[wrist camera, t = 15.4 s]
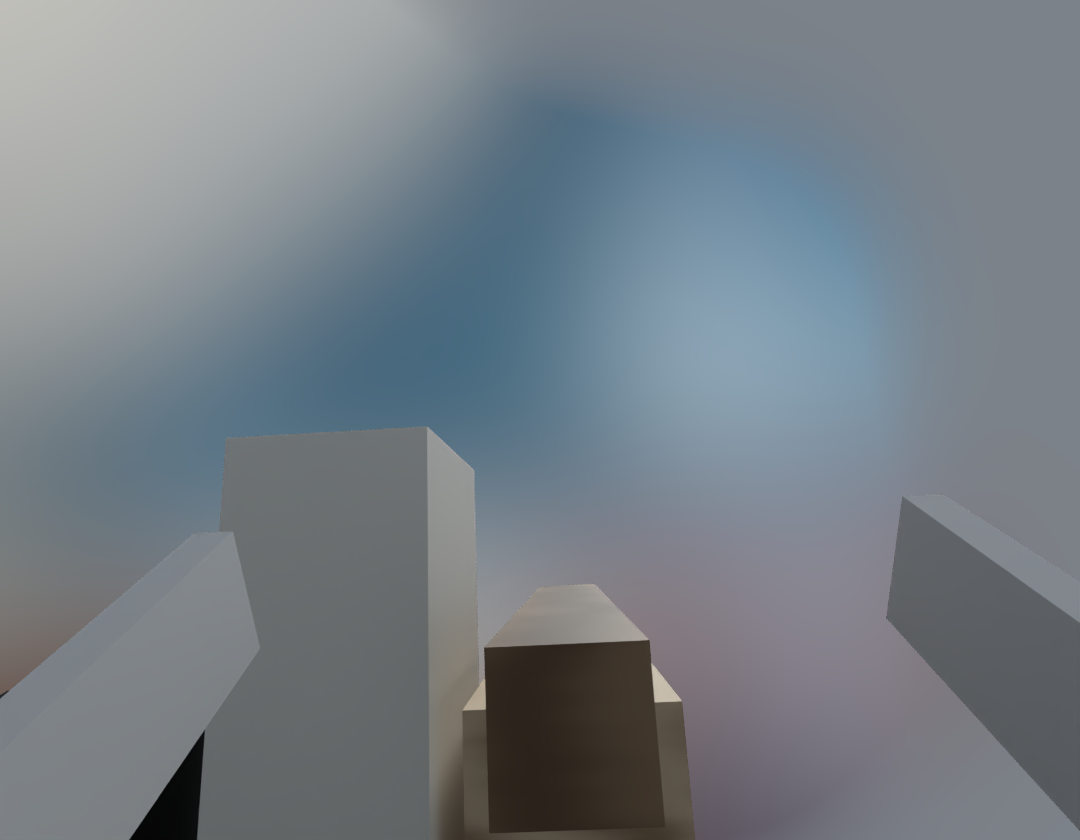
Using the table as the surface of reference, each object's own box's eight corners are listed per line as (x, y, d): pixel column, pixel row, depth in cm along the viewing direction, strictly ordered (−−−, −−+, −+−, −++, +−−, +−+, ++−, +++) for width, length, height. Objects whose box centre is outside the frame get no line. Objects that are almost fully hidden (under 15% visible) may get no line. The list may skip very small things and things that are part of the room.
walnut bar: (489, 833, 12) (484, 647, 13) (542, 644, 37) (539, 586, 38) (665, 827, 12) (648, 640, 13) (598, 642, 37) (594, 583, 38)
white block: (150, 1487, 17) (226, 437, 23) (322, 1102, 28) (339, 477, 35) (433, 1487, 16) (427, 426, 23) (489, 1099, 28) (473, 470, 35)
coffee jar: (224, 1004, 35) (244, 678, 39) (-17, 1099, 29) (35, 707, 34) (210, 919, 44) (227, 660, 48) (22, 980, 38) (59, 680, 42)
